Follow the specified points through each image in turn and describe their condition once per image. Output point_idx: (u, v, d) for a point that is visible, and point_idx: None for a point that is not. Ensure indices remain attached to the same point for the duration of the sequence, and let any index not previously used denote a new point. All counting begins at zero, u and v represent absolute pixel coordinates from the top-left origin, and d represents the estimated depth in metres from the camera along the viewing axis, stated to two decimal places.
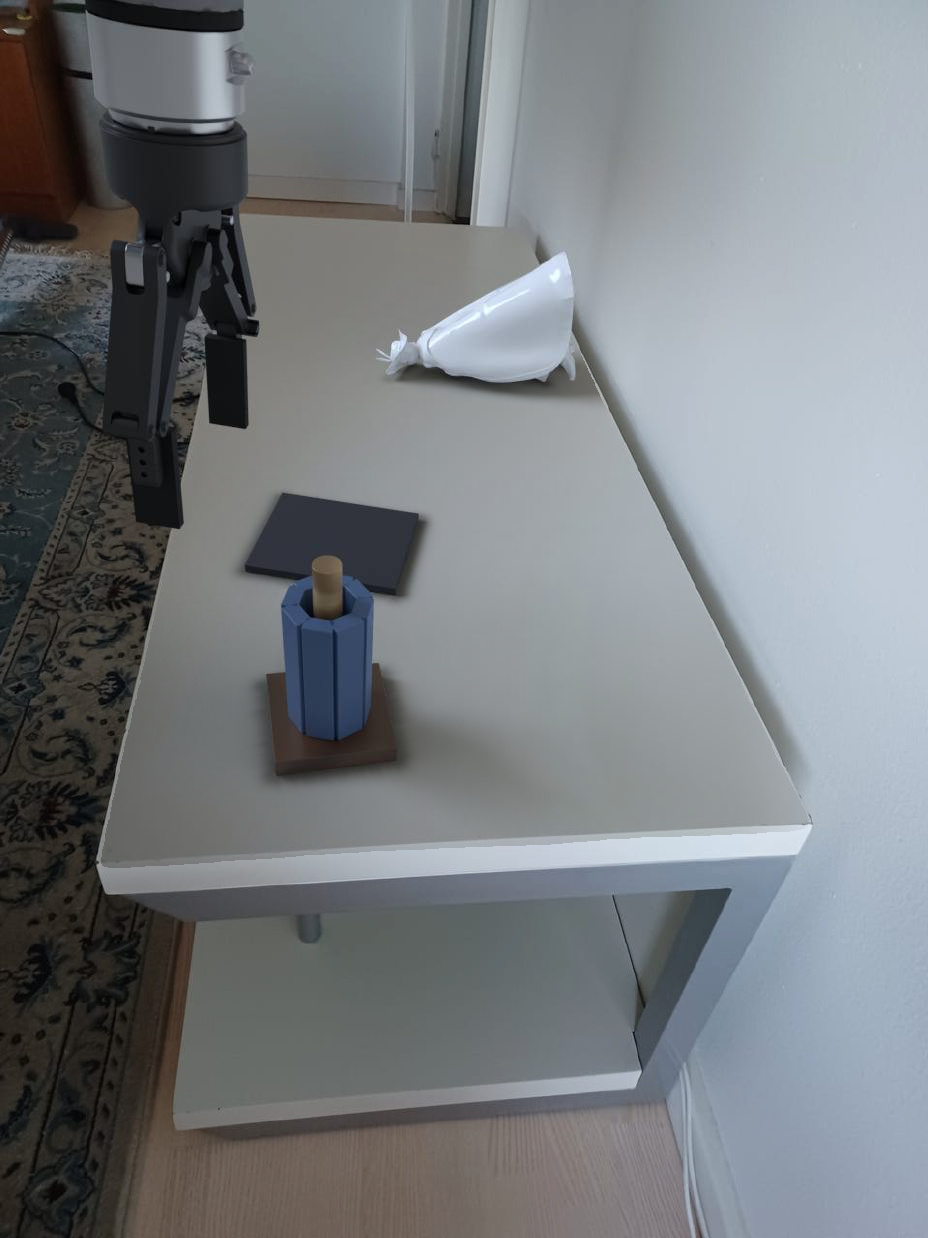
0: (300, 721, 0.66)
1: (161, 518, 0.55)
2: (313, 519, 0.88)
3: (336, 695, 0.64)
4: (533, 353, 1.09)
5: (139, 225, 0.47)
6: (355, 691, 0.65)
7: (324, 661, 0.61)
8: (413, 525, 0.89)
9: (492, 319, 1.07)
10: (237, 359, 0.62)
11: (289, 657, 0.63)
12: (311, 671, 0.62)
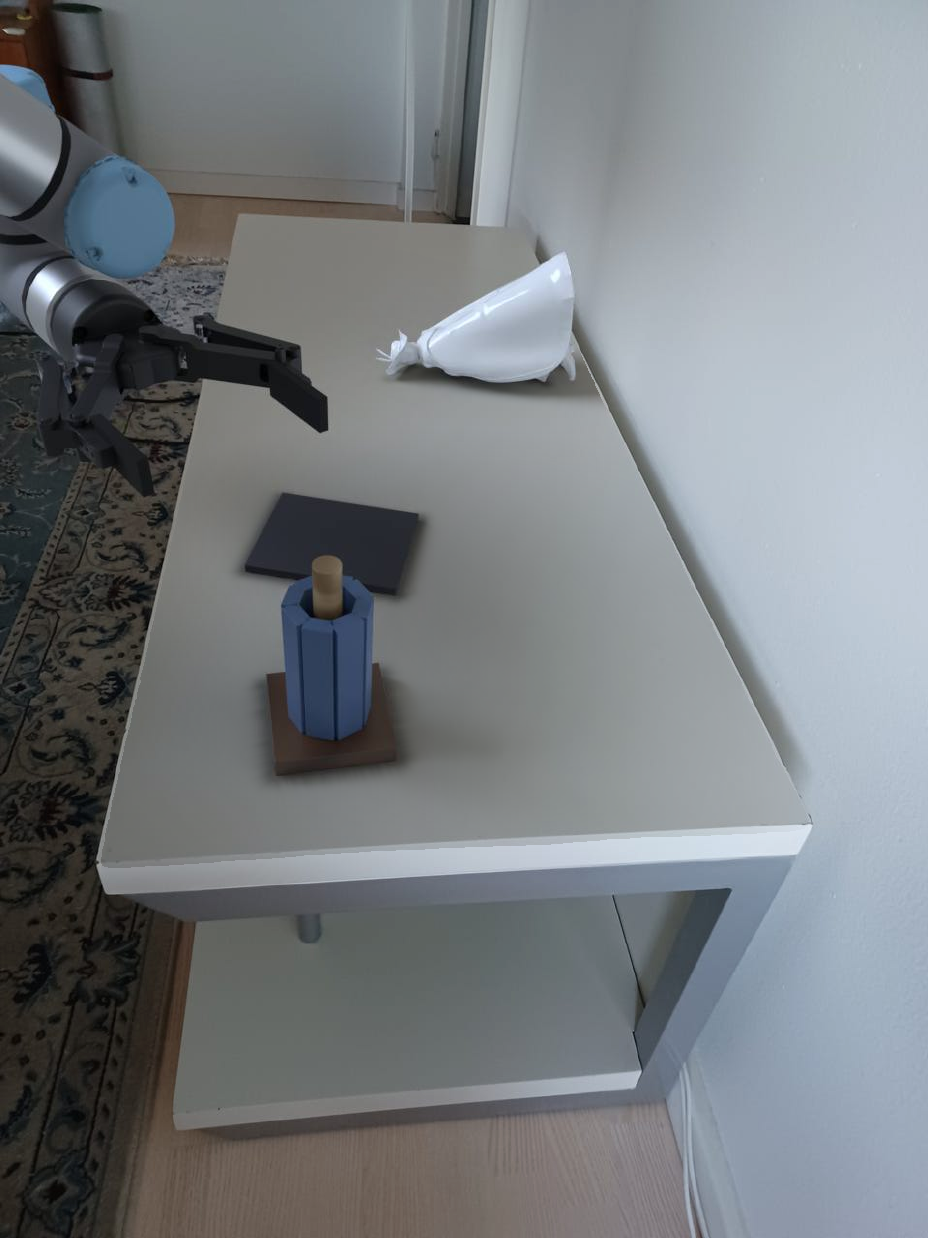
0: (300, 721, 0.66)
1: None
2: (313, 519, 0.88)
3: (336, 695, 0.64)
4: (533, 353, 1.09)
5: None
6: (355, 691, 0.65)
7: (324, 661, 0.61)
8: (413, 525, 0.89)
9: (492, 319, 1.07)
10: None
11: (289, 657, 0.63)
12: (311, 671, 0.62)
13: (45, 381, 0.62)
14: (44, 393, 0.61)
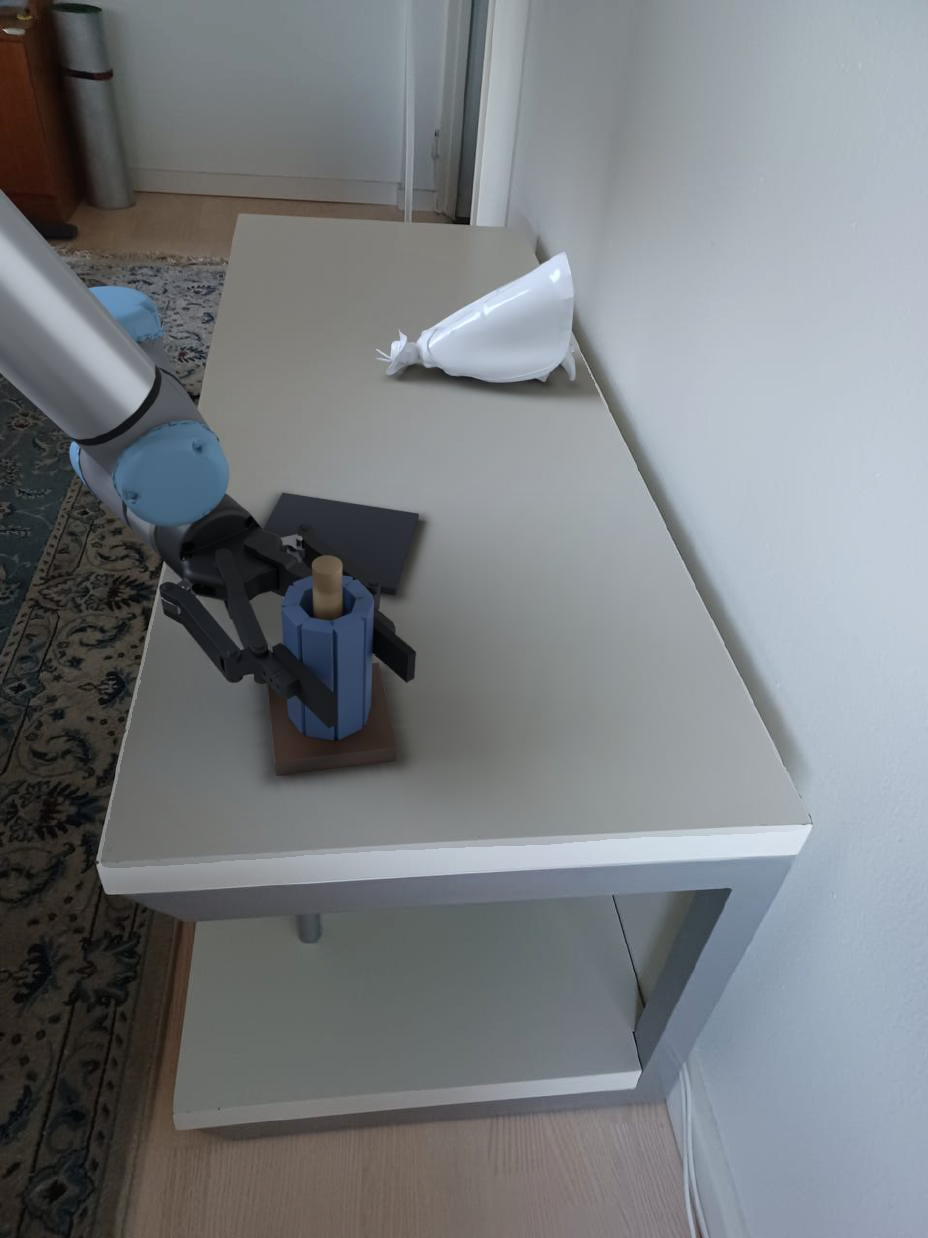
0: (300, 721, 0.66)
1: None
2: (313, 519, 0.88)
3: None
4: (533, 353, 1.09)
5: (266, 531, 0.73)
6: (355, 691, 0.65)
7: (324, 661, 0.61)
8: (413, 525, 0.89)
9: (492, 319, 1.07)
10: None
11: None
12: (311, 671, 0.62)
13: (191, 611, 0.65)
14: (203, 625, 0.64)
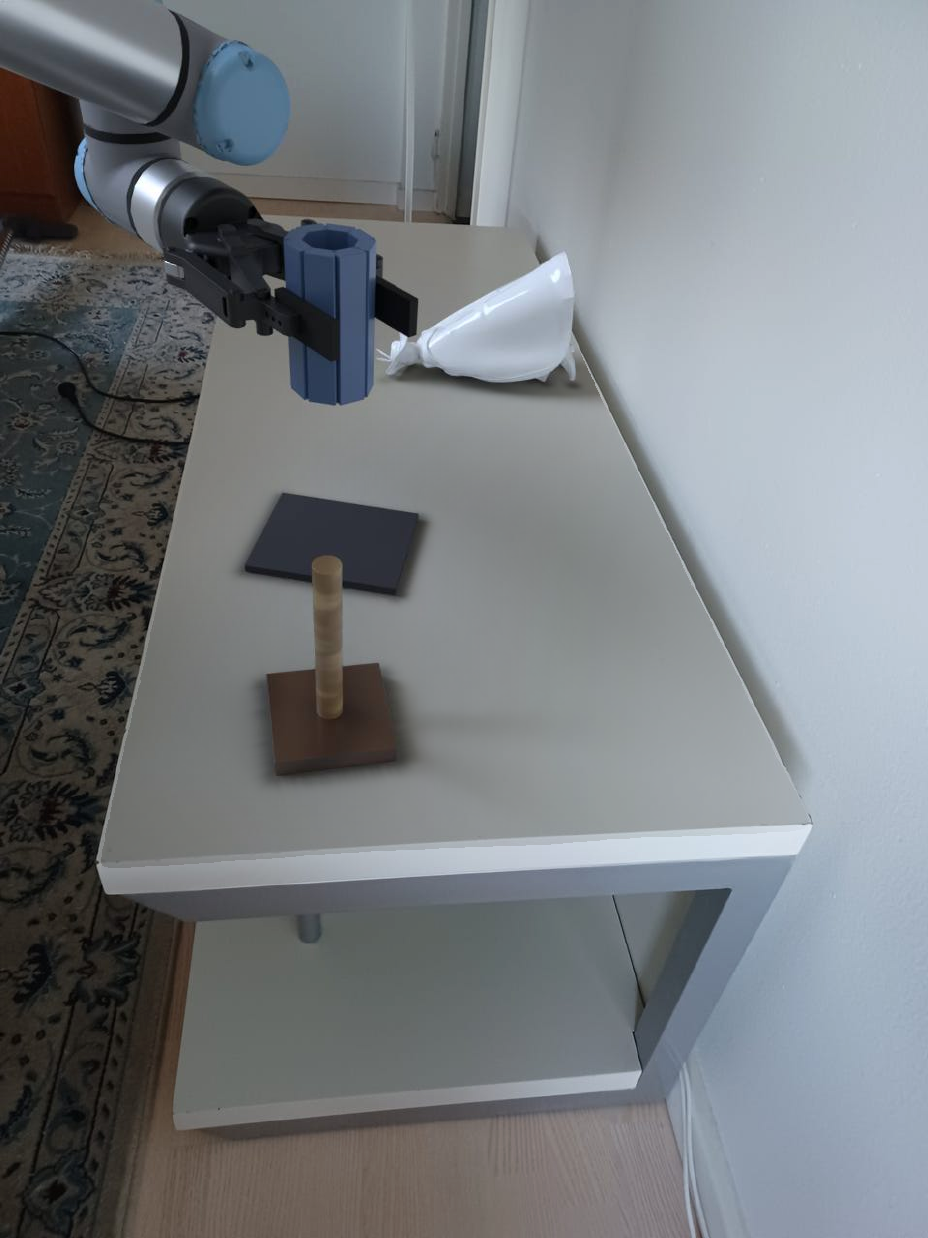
0: (302, 383, 0.66)
1: None
2: (313, 519, 0.88)
3: None
4: (533, 353, 1.09)
5: None
6: (357, 345, 0.65)
7: (326, 296, 0.61)
8: (413, 525, 0.89)
9: (492, 319, 1.07)
10: None
11: None
12: None
13: (194, 264, 0.65)
14: (206, 273, 0.64)
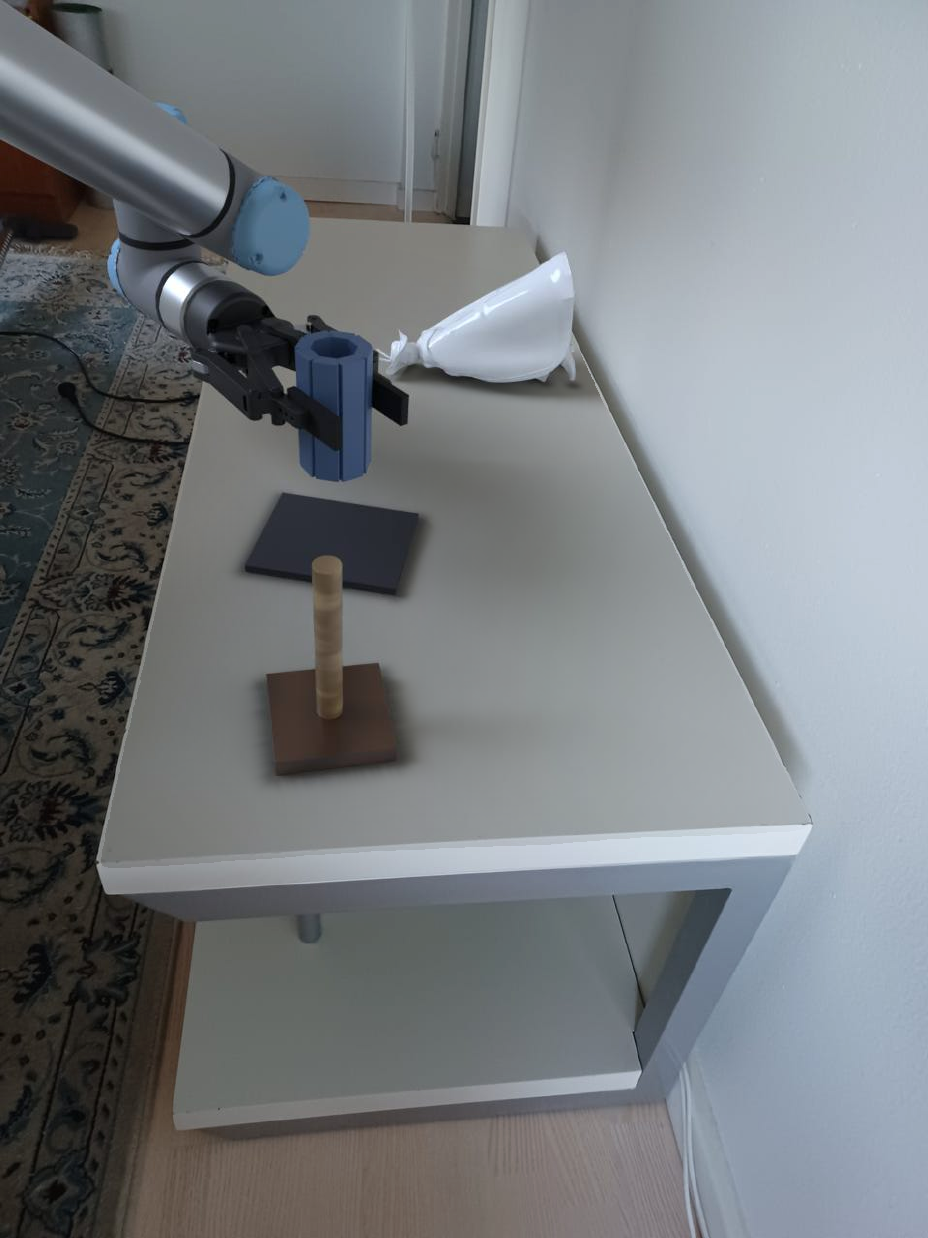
0: (310, 463, 0.78)
1: None
2: (313, 519, 0.88)
3: None
4: (533, 353, 1.09)
5: None
6: (357, 433, 0.76)
7: (331, 396, 0.73)
8: (413, 525, 0.89)
9: (492, 319, 1.07)
10: None
11: None
12: None
13: (218, 365, 0.76)
14: (228, 373, 0.75)
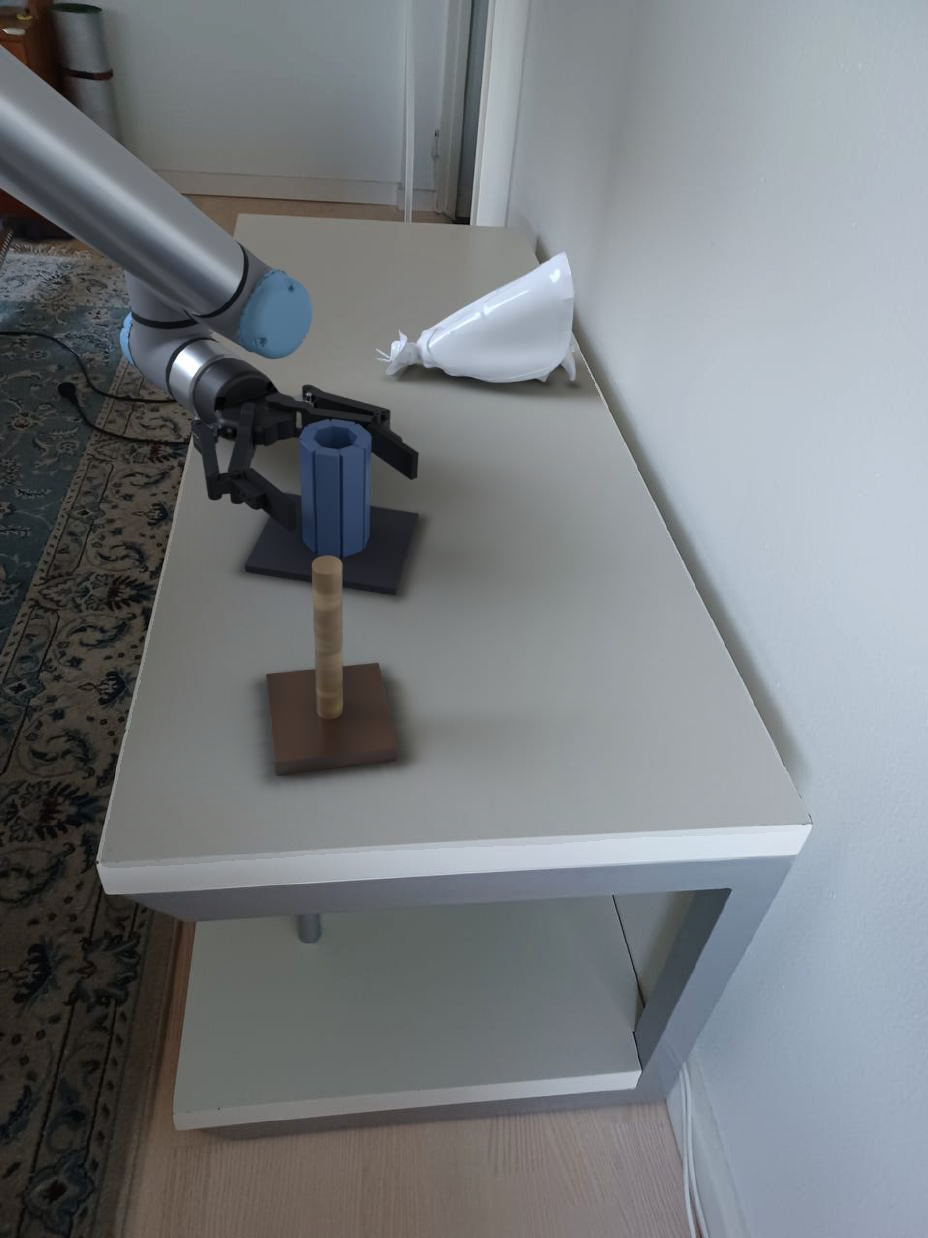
0: (313, 541, 0.83)
1: None
2: None
3: (342, 515, 0.81)
4: (533, 353, 1.09)
5: (283, 394, 0.89)
6: (357, 514, 0.82)
7: (332, 483, 0.78)
8: (413, 525, 0.89)
9: (492, 319, 1.07)
10: None
11: (305, 483, 0.80)
12: (322, 492, 0.79)
13: (203, 441, 0.81)
14: (205, 451, 0.80)
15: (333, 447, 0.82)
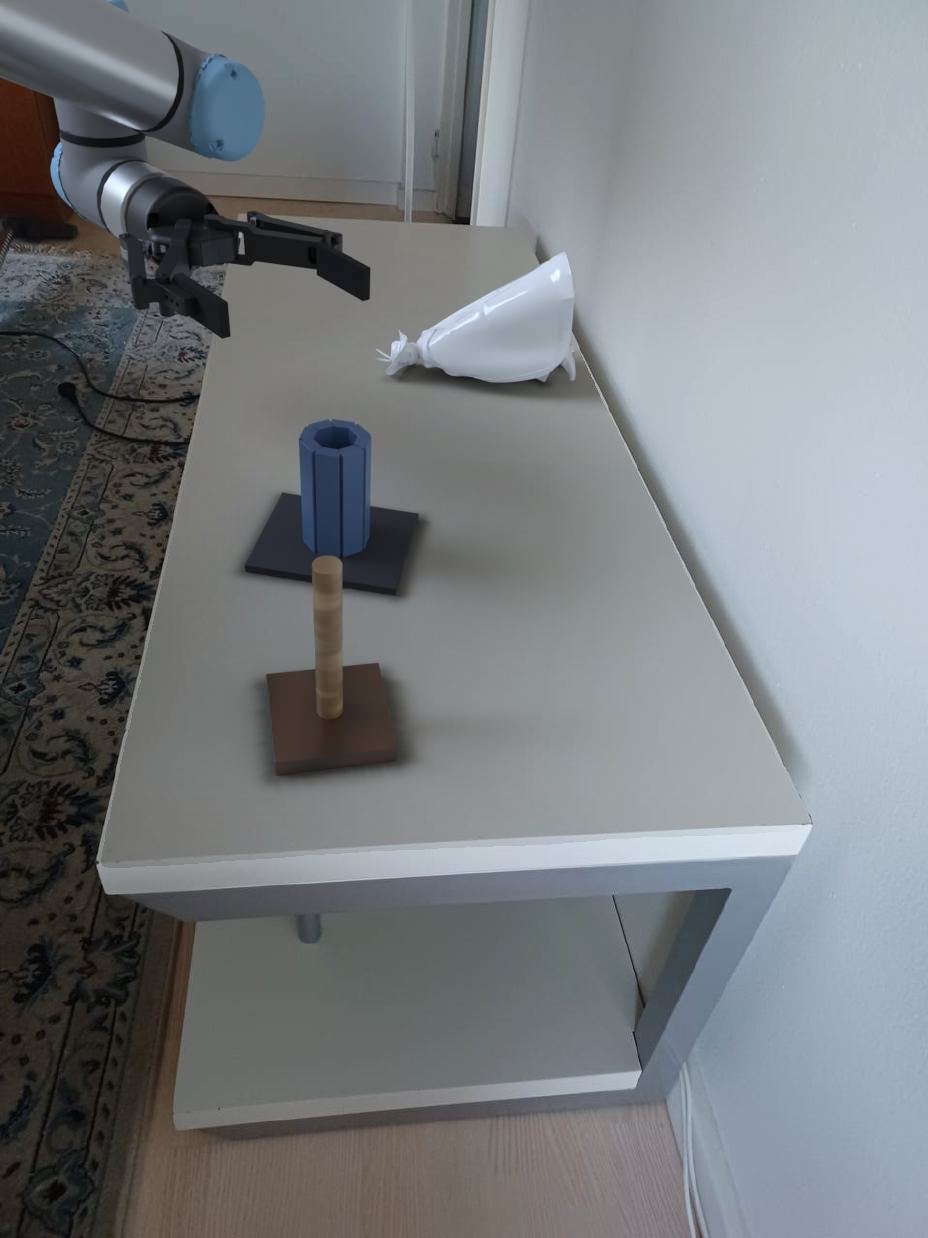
0: (313, 541, 0.83)
1: None
2: None
3: (342, 515, 0.81)
4: (533, 353, 1.09)
5: None
6: (357, 514, 0.82)
7: (332, 483, 0.78)
8: (413, 525, 0.89)
9: (492, 319, 1.07)
10: None
11: (305, 483, 0.80)
12: (322, 492, 0.79)
13: (130, 250, 0.73)
14: (131, 258, 0.72)
15: (333, 447, 0.82)
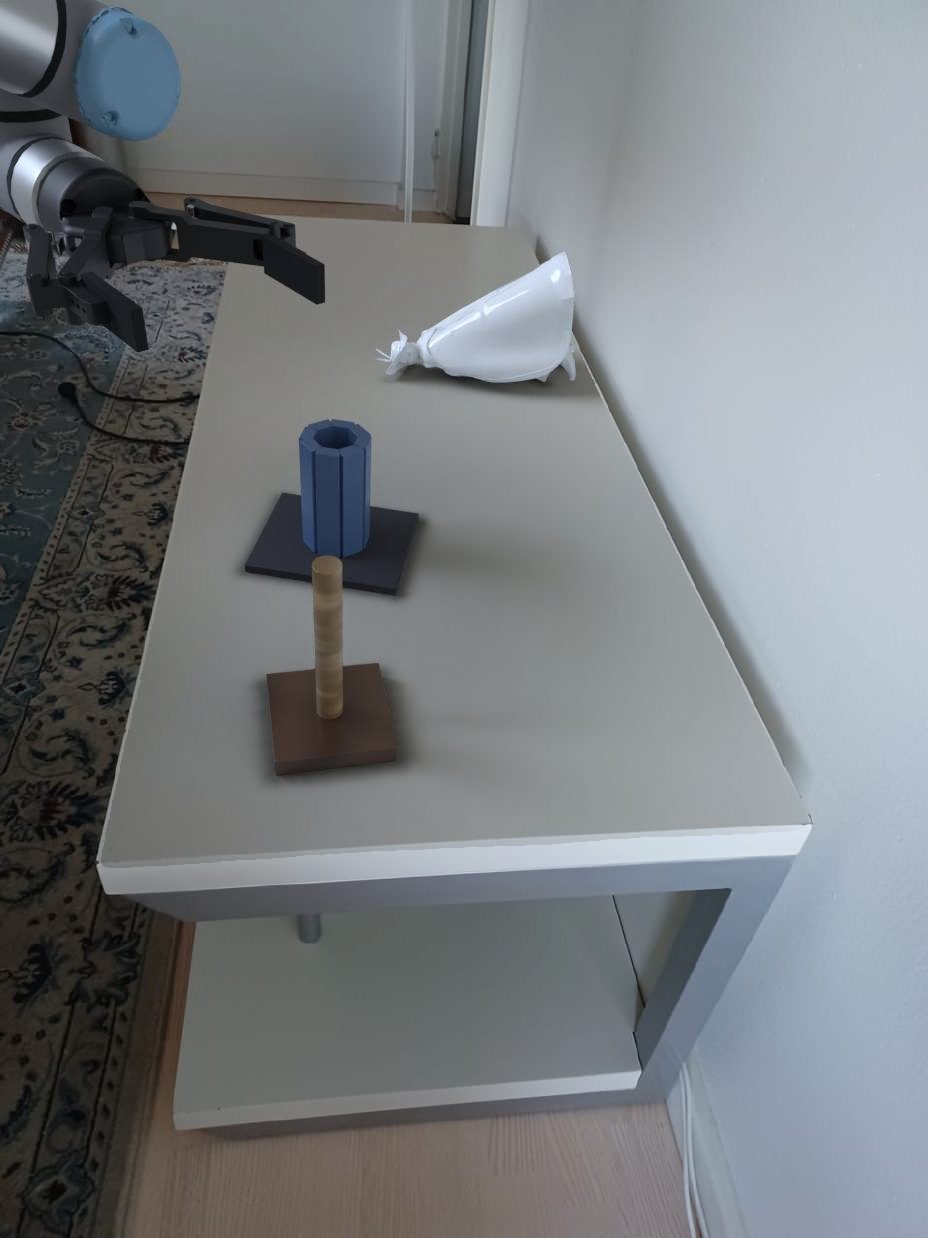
0: (313, 541, 0.83)
1: None
2: None
3: (342, 515, 0.81)
4: (533, 353, 1.09)
5: None
6: (357, 514, 0.82)
7: (332, 483, 0.78)
8: (413, 525, 0.89)
9: (492, 319, 1.07)
10: None
11: (305, 483, 0.80)
12: (322, 492, 0.79)
13: (33, 244, 0.61)
14: (32, 254, 0.59)
15: (333, 447, 0.82)
